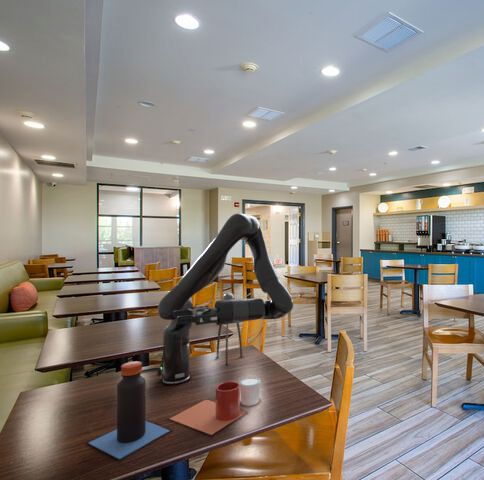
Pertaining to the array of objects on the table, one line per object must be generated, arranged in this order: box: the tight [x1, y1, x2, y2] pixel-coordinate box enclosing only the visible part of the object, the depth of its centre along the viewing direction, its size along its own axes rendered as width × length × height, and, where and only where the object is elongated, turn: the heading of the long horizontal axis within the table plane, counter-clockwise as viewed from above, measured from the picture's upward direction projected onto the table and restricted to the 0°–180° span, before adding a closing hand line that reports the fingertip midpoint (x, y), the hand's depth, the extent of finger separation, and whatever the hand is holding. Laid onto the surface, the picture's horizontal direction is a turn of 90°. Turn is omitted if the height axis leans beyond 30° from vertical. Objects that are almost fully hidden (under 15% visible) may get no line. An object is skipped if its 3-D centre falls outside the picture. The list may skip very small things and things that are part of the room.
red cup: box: [215, 380, 241, 421], centre depth 107 cm, size 7×7×9 cm
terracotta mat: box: [168, 399, 247, 436], centre depth 107 cm, size 18×14×1 cm
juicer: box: [216, 292, 243, 366], centre depth 155 cm, size 10×11×30 cm
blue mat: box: [87, 420, 171, 461], centre depth 95 cm, size 14×14×1 cm
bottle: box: [116, 360, 147, 443], centre depth 95 cm, size 7×7×20 cm
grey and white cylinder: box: [239, 377, 262, 407], centre depth 116 cm, size 7×7×7 cm
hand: (175, 317), depth 101 cm, fingers open, 8 cm apart
